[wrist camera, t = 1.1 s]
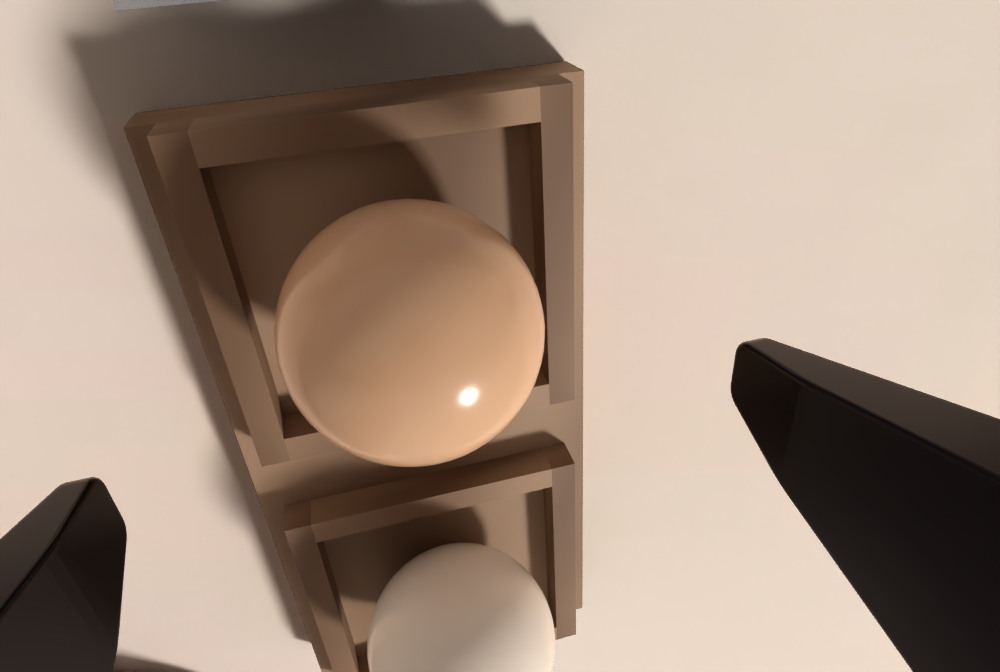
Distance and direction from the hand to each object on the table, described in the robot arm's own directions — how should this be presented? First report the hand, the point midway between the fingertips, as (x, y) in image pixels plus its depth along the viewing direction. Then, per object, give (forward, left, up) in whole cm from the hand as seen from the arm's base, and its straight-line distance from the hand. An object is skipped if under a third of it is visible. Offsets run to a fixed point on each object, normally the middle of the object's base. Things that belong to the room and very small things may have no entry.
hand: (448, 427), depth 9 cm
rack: (0, +5, -6) cm, 8 cm away
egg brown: (0, 0, -5) cm, 5 cm away
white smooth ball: (0, +9, -5) cm, 10 cm away
